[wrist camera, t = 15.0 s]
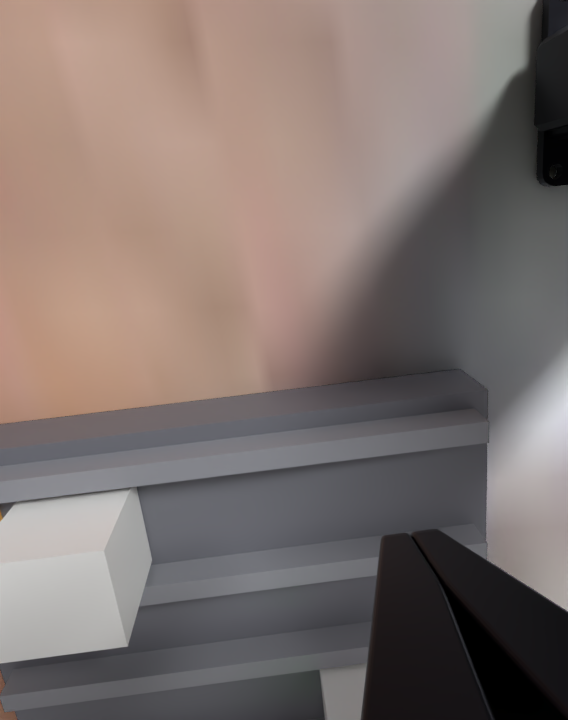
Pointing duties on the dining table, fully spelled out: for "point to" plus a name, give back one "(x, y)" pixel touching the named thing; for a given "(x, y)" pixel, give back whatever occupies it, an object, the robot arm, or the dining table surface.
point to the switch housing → (251, 537)
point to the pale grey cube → (343, 691)
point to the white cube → (71, 573)
